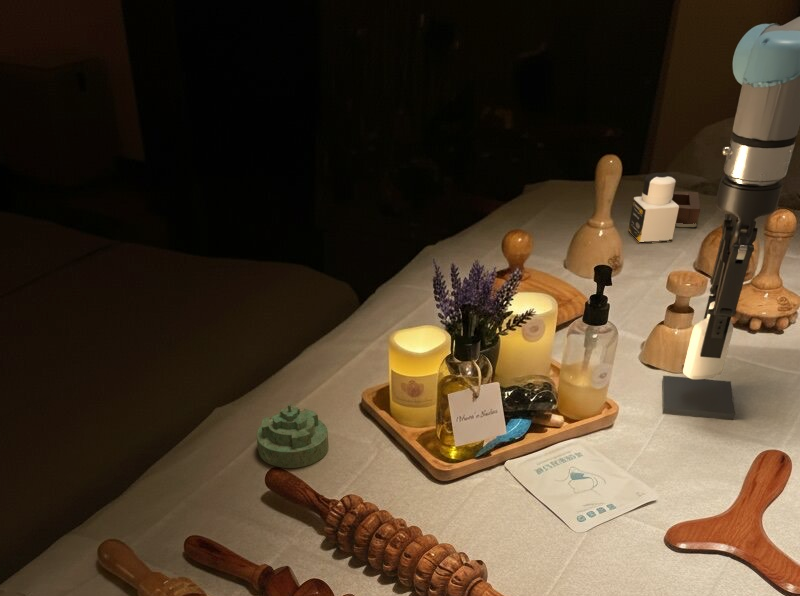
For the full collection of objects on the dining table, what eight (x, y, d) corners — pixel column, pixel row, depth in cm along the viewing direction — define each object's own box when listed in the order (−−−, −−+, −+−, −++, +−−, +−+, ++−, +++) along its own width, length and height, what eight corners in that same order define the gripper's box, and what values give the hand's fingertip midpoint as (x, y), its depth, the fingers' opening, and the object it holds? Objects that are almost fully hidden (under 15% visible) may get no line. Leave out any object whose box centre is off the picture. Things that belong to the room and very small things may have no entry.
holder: (694, 211, 193) (698, 192, 190) (696, 228, 185) (700, 208, 182) (642, 208, 195) (646, 189, 192) (642, 225, 187) (646, 206, 184)
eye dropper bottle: (722, 382, 127) (744, 302, 119) (682, 379, 128) (701, 300, 120) (720, 368, 130) (741, 290, 122) (681, 365, 131) (699, 287, 123)
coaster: (729, 387, 134) (730, 381, 133) (733, 420, 127) (735, 414, 126) (662, 381, 136) (663, 375, 135) (662, 413, 129) (663, 407, 128)
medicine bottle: (627, 231, 184) (637, 171, 176) (660, 229, 185) (671, 169, 177) (638, 243, 179) (649, 182, 171) (672, 241, 179) (685, 179, 171)
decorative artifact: (343, 447, 124) (297, 422, 130) (340, 403, 119) (293, 379, 125) (289, 476, 119) (244, 449, 124) (285, 432, 114) (238, 405, 120)
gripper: (718, 155, 117) (680, 320, 133) (726, 197, 105) (683, 374, 120) (777, 158, 116) (732, 324, 131) (792, 200, 103) (741, 379, 119)
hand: (709, 348), depth 126 cm, fingers closed on eye dropper bottle, 4 cm apart
